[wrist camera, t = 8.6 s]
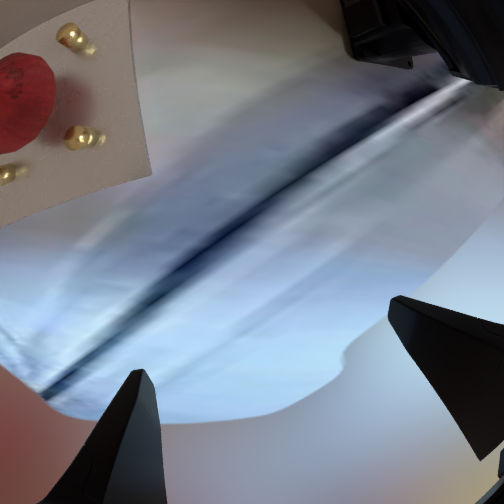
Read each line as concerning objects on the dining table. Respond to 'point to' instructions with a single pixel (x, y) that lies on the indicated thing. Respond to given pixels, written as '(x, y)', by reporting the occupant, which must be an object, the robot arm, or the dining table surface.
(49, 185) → the plate
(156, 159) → the dining table surface
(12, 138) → the red rounded piece
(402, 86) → the dining table surface
